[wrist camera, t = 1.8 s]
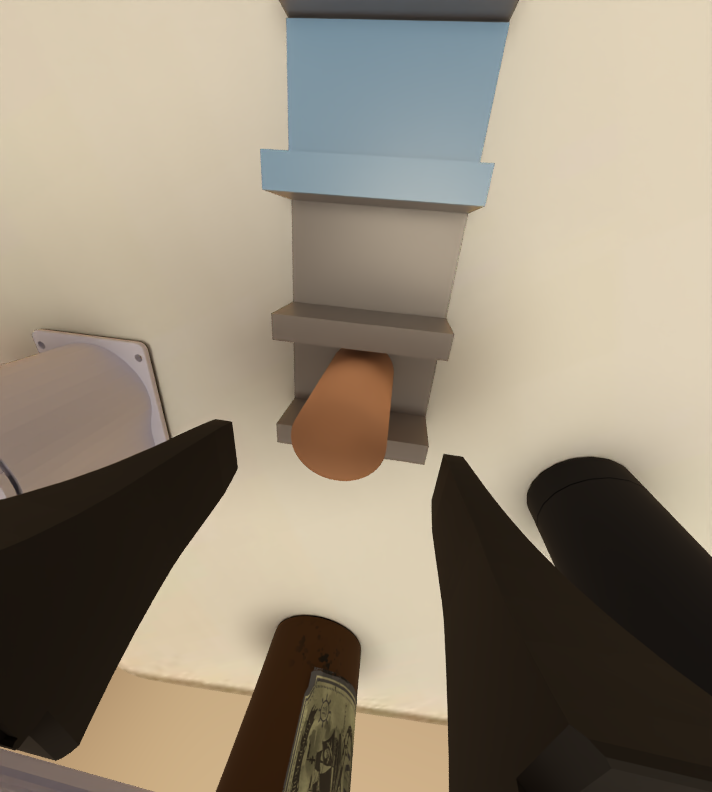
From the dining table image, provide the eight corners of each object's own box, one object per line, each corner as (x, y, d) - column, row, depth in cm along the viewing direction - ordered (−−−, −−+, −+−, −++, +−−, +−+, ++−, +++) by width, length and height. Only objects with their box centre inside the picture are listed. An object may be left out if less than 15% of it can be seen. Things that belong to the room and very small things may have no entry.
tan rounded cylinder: (389, 403, 18) (380, 487, 12) (329, 395, 19) (291, 472, 12) (397, 345, 17) (392, 407, 10) (332, 337, 17) (290, 393, 11)
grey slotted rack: (420, 428, 20) (423, 473, 16) (299, 411, 21) (275, 449, 17) (512, -20, 11) (567, -154, 7) (297, -22, 12) (245, -145, 8)
